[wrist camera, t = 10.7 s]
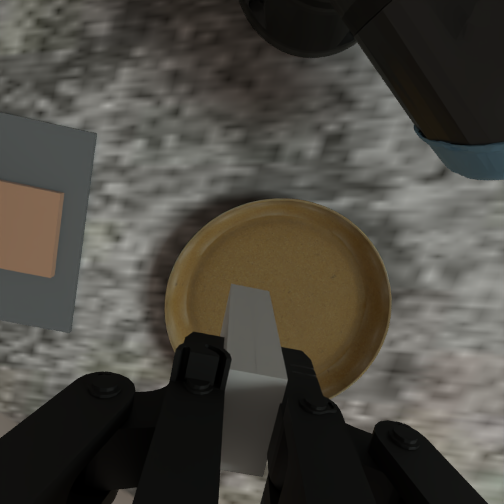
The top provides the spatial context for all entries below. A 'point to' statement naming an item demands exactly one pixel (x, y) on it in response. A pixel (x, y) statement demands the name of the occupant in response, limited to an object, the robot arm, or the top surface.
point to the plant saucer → (288, 283)
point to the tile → (29, 228)
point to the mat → (72, 221)
